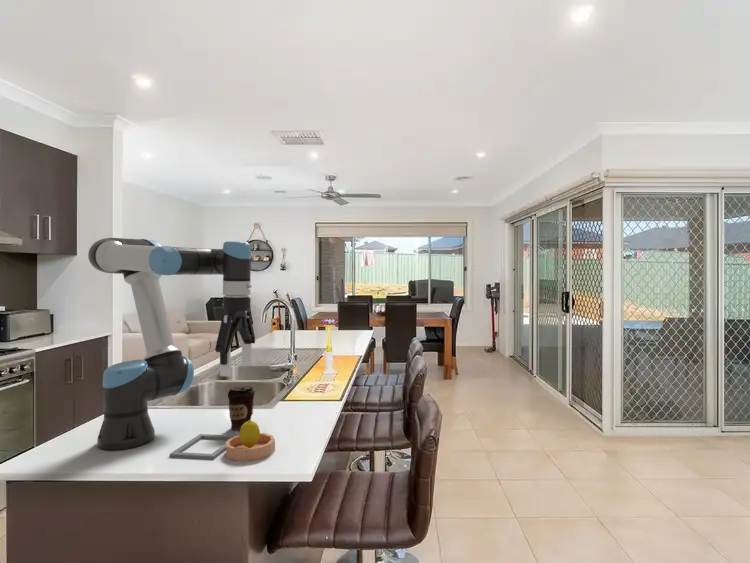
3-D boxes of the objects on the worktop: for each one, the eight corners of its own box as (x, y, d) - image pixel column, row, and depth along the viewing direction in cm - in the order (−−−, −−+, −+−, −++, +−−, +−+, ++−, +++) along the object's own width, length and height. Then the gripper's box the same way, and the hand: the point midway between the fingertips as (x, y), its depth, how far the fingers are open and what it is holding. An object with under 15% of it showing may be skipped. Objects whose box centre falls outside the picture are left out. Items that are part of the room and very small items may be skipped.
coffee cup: (247, 432, 146) (246, 391, 146) (222, 431, 148) (222, 390, 147) (259, 424, 154) (258, 385, 154) (236, 422, 156) (235, 384, 156)
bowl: (217, 459, 125) (217, 448, 125) (238, 442, 138) (238, 432, 138) (263, 461, 123) (263, 450, 123) (281, 444, 136) (280, 433, 136)
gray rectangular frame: (169, 456, 127) (169, 453, 127) (200, 436, 143) (200, 434, 143) (214, 459, 125) (214, 456, 125) (240, 438, 141) (240, 435, 141)
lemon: (242, 445, 133) (241, 417, 133) (261, 444, 133) (261, 416, 133) (237, 452, 127) (237, 423, 127) (258, 451, 128) (257, 422, 128)
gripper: (228, 299, 119) (228, 381, 120) (266, 294, 144) (265, 362, 145) (201, 298, 120) (201, 380, 121) (243, 293, 145) (243, 361, 146)
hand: (236, 370), depth 133 cm, fingers open, 13 cm apart
